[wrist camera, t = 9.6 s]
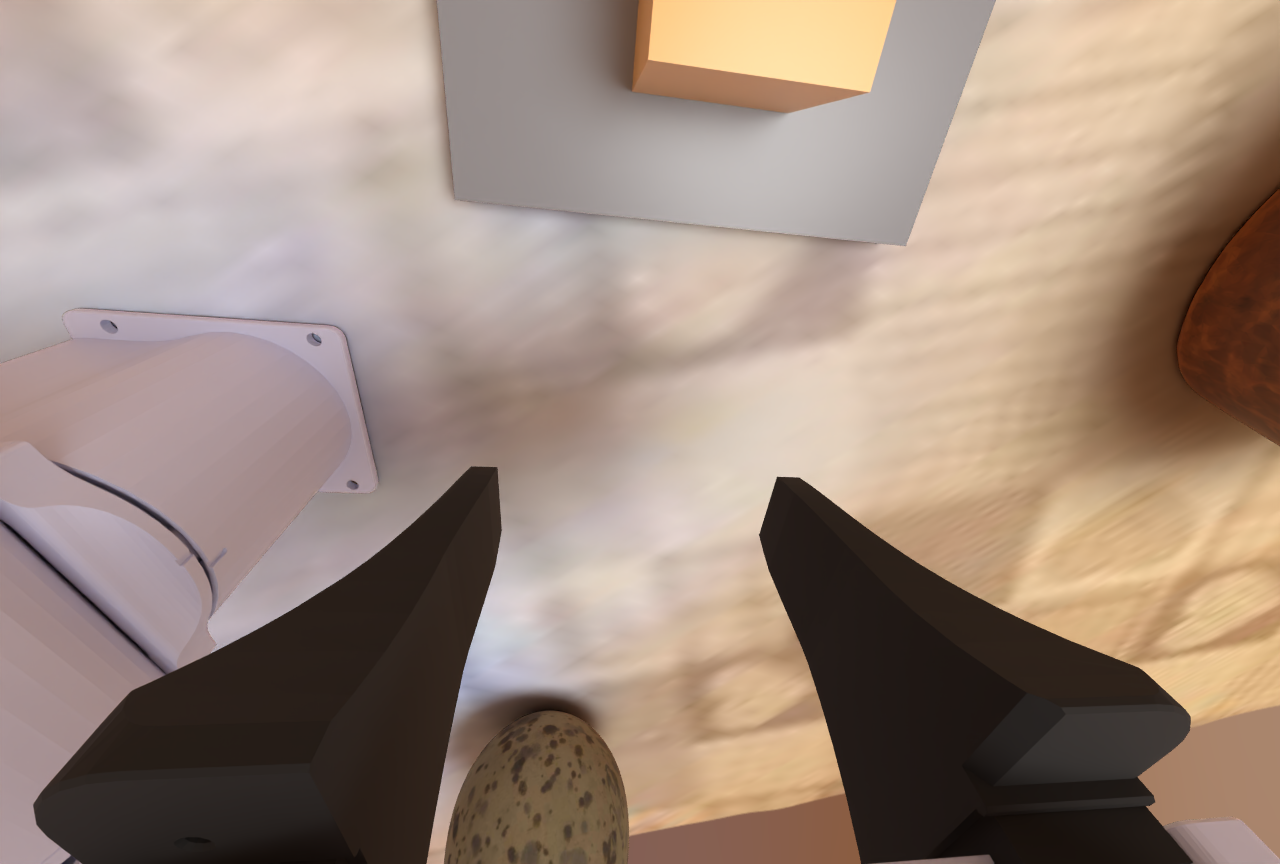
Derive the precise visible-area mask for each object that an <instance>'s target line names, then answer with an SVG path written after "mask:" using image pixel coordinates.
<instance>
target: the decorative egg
mask: <svg viewBox="0 0 1280 864" xmlns="http://www.w3.org/2000/svg"><path fill="white" fill-rule="evenodd" d="M628 846H629V821H628V808H627V801H626V794H625V790H624V785H623V781H622V778H621V774H620V771H619V768H618V766H617V763H616V761H615V759H614V757H613V755H612V753H611V751H610V750H609V748H608V746H607V745H606V743H605V742H604V740H603V739H602V738H601V737H600V735H599V734H598V733H597V732H596V731H595V730H594V729H593V728H592V727H591V726H590V725H589V724H587V723H586V722H584V721H583V720H581V719H580V718H578V717H576V716H574V715H571V714H568V713H565V712H561V711H540V712H535V713H532V714H529V715H526V716H524V717H522V718H520V719H518V720H516V721H515V722H513V723H511V724H510V725H508V726H507V727H506V728H504V729H503V730H502V731H501V732H500V733H499V734H498V735H496V736H495V737H494V738H493V739H492V741H491V742H490V743H489V744H488V745H487V746H486V747H485V748H484V750H483V751H482V752H481V754H480V755H479V757H478V758H477V760H476V761H475V763H474V764H473V766H472V768H471V769H470V771H469V773H468V775H467V777H466V779H465V781H464V783H463V785H462V788H461V790H460V793H459V795H458V798H457V801H456V804H455V807H454V810H453V814H452V818H451V822H450V826H449V831H448V836H447V843H446V849H445V858H444V864H627V861H628V848H629V847H628Z"/></svg>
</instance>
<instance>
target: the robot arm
mask: <svg viewBox="0 0 1280 864" xmlns="http://www.w3.org/2000/svg"><path fill="white" fill-rule="evenodd" d="M62 320H63V323H64V325H65V327H66V329H67V331H68V332H69V334H70V336H71V338H72V340H69V341H66V342H63V343H60V344H57V345H54V346H51V347H48V348H45V349H42V350H39V351H36V352H33V353H30V354H27V355H24V356H21V357H18V358H15V359H12V360H9V361H6V362H3V363H0V864H426V863H427V857H428V851H429V845H430V840H431V834H432V828H433V822H434V817H435V811H436V806H437V800H438V795H439V789H440V784H441V779H442V773H443V768H444V762H445V757H446V752H447V747H448V742H449V737H450V732H451V727H452V722H453V717H454V712H455V708H456V703H457V698H458V693H459V689H460V684H461V679H462V674H463V670H464V666H465V663H466V659H467V655H468V652H469V648H470V645H471V642H472V639H473V636H474V633H475V629H476V626H477V623H478V620H479V617H480V614H481V610H482V607H483V604H484V601H485V598H486V595H487V591H488V588H489V585H490V582H491V578H492V575H493V572H494V569H495V564H496V559H497V554H498V548H499V542H500V537H501V531H502V529H501V514H500V499H499V484H498V469H497V467H471V468H469V469H468V470H467V471H466V472H465V473H464V474H463V475H462V476H461V477H460V478H459V479H458V480H457V481H456V482H455V483H454V484H453V485H452V486H451V487H450V488H449V489H448V490H447V491H446V492H445V493H444V494H443V495H442V496H441V497H440V498H439V499H438V500H437V501H436V502H435V503H434V504H433V505H432V506H431V507H430V508H429V509H428V510H427V511H426V512H425V513H423V514H422V515H421V516H420V517H419V518H418V519H417V520H416V521H415V522H414V523H413V524H411V525H410V526H409V527H408V528H407V529H406V530H404V531H403V532H402V533H401V534H400V535H399V536H397V537H396V538H395V539H394V540H393V541H391V542H390V543H389V544H388V545H387V546H386V547H384V548H383V549H382V550H380V551H379V552H378V553H377V554H375V555H374V556H373V557H371V558H370V559H369V560H368V561H366V562H365V563H363V564H362V565H361V566H359V567H358V568H356V569H355V570H354V571H352V572H351V573H349V574H348V575H346V576H345V577H344V578H342V579H341V580H339V581H338V582H336V583H334V584H333V585H331V586H330V587H328V588H326V589H325V590H323V591H322V592H320V593H318V594H317V595H315V596H314V597H312V598H310V599H309V600H307V601H306V602H304V603H302V604H301V605H299V606H298V607H296V608H294V609H293V610H291V611H289V612H288V613H286V614H284V615H282V616H280V617H279V618H277V619H275V620H273V621H272V622H270V623H268V624H266V625H264V626H263V627H261V628H259V629H257V630H255V631H253V632H251V633H250V634H248V635H246V636H244V637H242V638H240V639H238V640H236V641H235V642H233V643H231V644H229V645H227V646H225V647H223V648H221V649H219V650H217V651H215V652H213V653H211V651H212V650H213V649H214V648H215V646H216V643H215V641H214V640H213V639H212V637H211V636H210V634H209V632H208V628H207V623H208V620H209V619H210V618H211V617H212V615H213V614H214V613H215V612H216V611H217V610H218V608H219V607H220V606H221V605H222V604H223V602H224V601H225V600H226V599H227V598H228V597H229V595H230V594H231V593H232V592H233V591H234V589H235V588H236V587H237V586H238V585H239V584H240V582H241V581H242V580H243V579H244V578H245V576H246V575H247V574H248V573H249V572H250V571H251V569H252V568H253V567H254V566H255V565H256V563H257V562H258V561H259V560H260V559H261V558H262V556H263V555H264V554H265V553H266V552H267V550H268V549H269V548H270V547H271V546H272V545H273V543H274V542H275V541H276V540H277V539H278V537H279V536H280V535H281V534H282V533H283V532H284V530H285V529H286V528H287V527H288V526H289V524H290V523H291V522H292V521H293V520H294V519H295V517H296V516H297V515H298V514H299V513H300V511H301V510H302V509H303V508H304V507H305V506H306V504H307V503H308V502H309V501H310V500H311V498H312V497H313V496H314V495H315V494H316V493H317V492H335V493H371V492H373V491H374V490H375V489H376V487H377V486H378V482H379V481H378V477H377V472H376V468H375V464H374V459H373V455H372V451H371V446H370V442H369V437H368V433H367V429H366V424H365V420H364V416H363V411H362V407H361V402H360V398H359V394H358V389H357V385H356V381H355V376H354V372H353V367H352V363H351V359H350V354H349V350H348V346H347V341H346V338H345V335H344V334H343V333H342V331H341V330H340V329H338V328H336V327H334V326H330V325H316V324H301V323H286V322H272V321H257V320H242V319H228V318H213V317H198V316H184V315H169V314H154V313H140V312H125V311H110V310H95V309H81V308H80V309H73V310H70V311H67V312H65V313H64V314H63V317H62ZM110 321H111V322H113V323H114V324H115V325H116V326H117V328H118V329H116V328H115V327H113V325H112V324H111V322H110ZM312 333H314V334H317V335H318V336H319V337H320V338H321V340H322V342H321V343H319V342H317V341H315V340H314V339H313V337H312ZM351 480H352V481H355V482H357V483H358V485H357V484H354V483H352V482H351ZM759 536H760V540H761V544H762V548H763V552H764V555H765V559H766V562H767V566H768V569H769V572H770V574H771V577H772V579H773V581H774V584H775V586H776V588H777V591H778V593H779V596H780V598H781V600H782V603H783V605H784V607H785V609H786V612H787V614H788V616H789V619H790V621H791V623H792V626H793V628H794V630H795V633H796V635H797V637H798V639H799V642H800V644H801V646H802V649H803V652H804V654H805V657H806V659H807V662H808V665H809V668H810V671H811V674H812V677H813V680H814V683H815V686H816V690H817V693H818V696H819V699H820V702H821V706H822V709H823V712H824V716H825V719H826V723H827V726H828V730H829V733H830V737H831V740H832V744H833V747H834V751H835V755H836V759H837V763H838V767H839V770H840V774H841V778H842V782H843V786H844V790H845V794H846V797H847V801H848V806H849V811H850V815H851V819H852V824H853V828H854V832H855V837H856V842H857V846H858V850H859V855H860V860H861V864H1280V859H1279V858H1278V857H1277V856H1276V855H1275V854H1274V853H1273V852H1272V851H1271V850H1270V849H1269V848H1268V847H1267V846H1266V845H1265V844H1264V843H1263V842H1262V841H1261V840H1260V839H1259V838H1258V837H1257V836H1256V834H1255V833H1253V831H1251V830H1250V828H1249V827H1248V826H1247V825H1246V824H1244V822H1243V821H1242V820H1240V819H1237V818H1234V817H1221V818H1206V819H1193V820H1184V821H1177V822H1174V823H1171V824H1168V825H1165V826H1162V825H1161V824H1160V823H1159V821H1158V820H1157V819H1156V818H1155V817H1154V816H1153V814H1152V813H1151V812H1150V811H1149V810H1148V808H1147V807H1146V806H1150V805H1152V804H1153V803H1155V800H1154V796H1153V795H1152V793H1151V792H1150V791H1149V790H1148V789H1147V788H1146V787H1145V785H1144V784H1143V783H1142V782H1141V781H1140V780H1139V779H1138V776H1139V775H1140V774H1142V773H1143V772H1144V771H1146V770H1147V769H1148V768H1150V767H1151V766H1152V765H1153V764H1155V763H1156V762H1157V761H1159V760H1160V759H1161V758H1163V757H1164V756H1165V755H1166V754H1168V753H1169V752H1171V751H1172V750H1173V749H1174V748H1175V747H1176V746H1178V745H1179V744H1180V743H1181V742H1182V741H1183V740H1184V738H1185V737H1186V736H1187V734H1188V733H1189V731H1190V723H1191V718H1190V715H1189V714H1188V713H1187V711H1186V710H1185V709H1184V708H1183V707H1182V706H1181V705H1180V704H1179V703H1178V702H1177V701H1175V700H1174V699H1173V698H1172V697H1171V696H1170V695H1169V694H1168V693H1167V692H1166V691H1165V690H1164V689H1163V688H1161V687H1160V686H1159V685H1158V684H1157V683H1156V682H1155V681H1154V680H1153V679H1152V678H1151V677H1150V676H1149V675H1147V674H1146V673H1145V672H1144V671H1143V670H1141V669H1140V668H1138V667H1135V666H1133V665H1130V664H1128V663H1125V662H1123V661H1120V660H1118V659H1115V658H1113V657H1110V656H1107V655H1105V654H1102V653H1100V652H1097V651H1095V650H1092V649H1090V648H1087V647H1085V646H1082V645H1079V644H1077V643H1074V642H1072V641H1069V640H1067V639H1065V638H1062V637H1060V636H1058V635H1056V634H1053V633H1051V632H1049V631H1047V630H1044V629H1042V628H1040V627H1038V626H1035V625H1033V624H1031V623H1029V622H1026V621H1024V620H1022V619H1020V618H1018V617H1016V616H1014V615H1012V614H1010V613H1008V612H1005V611H1003V610H1001V609H999V608H997V607H995V606H993V605H992V604H990V603H988V602H986V601H984V600H982V599H980V598H978V597H976V596H974V595H972V594H970V593H968V592H967V591H965V590H963V589H961V588H959V587H957V586H956V585H954V584H952V583H950V582H949V581H947V580H945V579H943V578H942V577H940V576H938V575H937V574H935V573H933V572H932V571H930V570H928V569H927V568H925V567H923V566H922V565H920V564H919V563H917V562H915V561H914V560H912V559H911V558H909V557H908V556H906V555H905V554H903V553H902V552H900V551H899V550H897V549H896V548H894V547H893V546H891V545H890V544H888V543H887V542H886V541H884V540H883V539H881V538H880V537H878V536H877V535H876V534H874V533H873V532H872V531H870V530H869V529H867V528H866V527H865V526H863V525H862V524H861V523H859V522H858V521H857V520H855V519H854V518H853V517H851V516H850V515H849V514H847V513H846V512H845V511H844V510H842V509H841V508H840V507H838V506H837V505H836V504H834V503H833V502H832V501H831V500H829V499H828V498H827V497H825V496H824V495H823V494H821V493H820V492H819V491H817V490H816V489H815V488H813V487H812V486H811V485H809V484H808V483H806V482H805V481H803V480H802V479H800V478H795V477H777V479H776V482H775V485H774V489H773V492H772V495H771V498H770V502H769V505H768V508H767V511H766V515H765V518H764V521H763V524H762V528H761V531H760V534H759ZM210 653H211V654H210Z"/></svg>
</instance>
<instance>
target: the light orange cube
mask: <svg viewBox="0 0 1280 864" xmlns="http://www.w3.org/2000/svg"><path fill="white" fill-rule="evenodd" d="M895 3H896V0H639V3H638V16H637V29H636V43H635V56H634V70H633V83H632V92H638V93H645V94H652V95H659V96H667V97H674V98H681V99H689V100H696V101H703V102H710V103H718V104H725V105H732V106H740V107H747V108H754V109H761V110H769V111H776V112H783V113H792V112H795V111H799V110H803V109H807V108H811V107H815V106H819V105H823V104H827V103H830V102H834V101H838V100H842V99H846V98H850V97H854V96H858V95H862V94H866V93H869V92H870V91H871V87H872V84H873V80H874V77H875V73H876V70H877V66H878V63H879V59H880V56H881V52H882V49H883V45H884V42H885V38H886V35H887V31H888V28H889V24H890V21H891V17H892V14H893V10H894V7H895Z"/></svg>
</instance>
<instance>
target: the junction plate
mask: <svg viewBox="0 0 1280 864" xmlns="http://www.w3.org/2000/svg"><path fill="white" fill-rule="evenodd" d="M995 1H996V0H896V3H895V7H894V10H893V14H892V17H891V21H890V24H889V28H888V31H887V35H886V38H885V42H884V45H883V49H882V52H881V56H880V59H879V63H878V66H877V70H876V73H875V77H874V80H873V84H872V87H871V91H870V92H869V93H866V94H862V95H858V96H854V97H850V98H846V99H842V100H838V101H834V102H830V103H827V104H823V105H819V106H815V107H811V108H807V109H803V110H799V111H795V112H792V113H783V112H776V111H769V110H761V109H754V108H747V107H740V106H732V105H725V104H718V103H710V102H703V101H696V100H689V99H681V98H674V97H667V96H659V95H652V94H645V93H638V92H632V83H633V70H634V56H635V43H636V29H637V16H638V3H639V0H437V9H438V20H439V31H440V42H441V53H442V64H443V75H444V86H445V97H446V108H447V119H448V130H449V141H450V152H451V163H452V174H453V185H454V196H455V200H462V201H472V202H482V203H491V204H501V205H511V206H520V207H530V208H540V209H550V210H559V211H569V212H579V213H589V214H598V215H608V216H618V217H627V218H637V219H647V220H657V221H666V222H676V223H686V224H696V225H705V226H715V227H725V228H734V229H744V230H754V231H764V232H773V233H783V234H793V235H803V236H812V237H822V238H832V239H841V240H851V241H861V242H871V243H880V244H890V245H900V246H906V244H907V241H908V239H909V236H910V233H911V230H912V228H913V225H914V222H915V219H916V217H917V214H918V211H919V209H920V206H921V203H922V200H923V198H924V195H925V192H926V189H927V187H928V184H929V181H930V179H931V176H932V173H933V170H934V168H935V165H936V162H937V159H938V157H939V154H940V151H941V149H942V146H943V143H944V140H945V138H946V135H947V132H948V129H949V127H950V124H951V121H952V119H953V116H954V113H955V110H956V108H957V105H958V102H959V99H960V97H961V94H962V91H963V89H964V86H965V83H966V80H967V78H968V75H969V72H970V69H971V67H972V64H973V61H974V59H975V56H976V53H977V50H978V48H979V45H980V42H981V39H982V37H983V34H984V31H985V29H986V26H987V23H988V20H989V18H990V15H991V12H992V9H993V7H994V4H995Z"/></svg>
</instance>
